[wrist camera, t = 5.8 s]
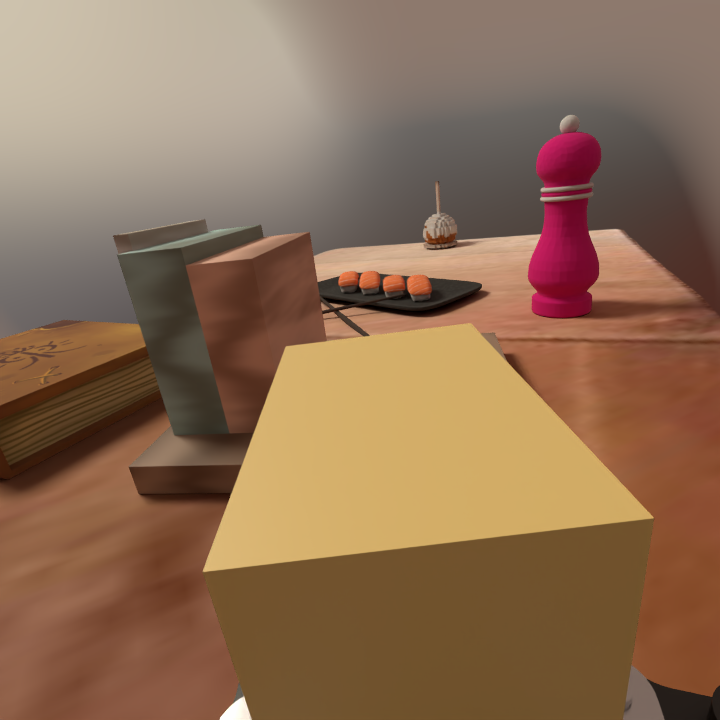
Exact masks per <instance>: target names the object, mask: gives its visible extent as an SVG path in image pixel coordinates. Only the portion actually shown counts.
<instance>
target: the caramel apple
mask: <svg viewBox="0 0 720 720" xmlns="http://www.w3.org/2000/svg"><path fill="white" fill-rule="evenodd" d="M436 199H437V214H434V215H432V217H429V220H426V223H425V228H424V231H423V237H424V238H425V242H427V243H425V244H424V247H425V248H431V249H443V248H448V247H451V246H453V245H456V244H457V241H456V240H454V239H455V235H456V234H457V225H456V224H455V220H453V219H452V217H450V216H448V215H446V214H445V213H440V194H439V181H436Z"/></svg>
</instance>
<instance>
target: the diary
mask: <svg viewBox="0 0 720 720" xmlns="http://www.w3.org/2000/svg"><path fill="white" fill-rule="evenodd" d="M160 398H162V395H161V392H160V389H159V386H158V383H157V379H156V376H155V373H154V370H153V367H152V364H151V360H150V357H149V354H148V351H147V348H146V345H145V342H144V338H143V335H142V332H141V329H140V326H139V324H124V323H106V322H89V321H70V320H62V321H59V322H56V323H52V324H49V325H46V326H42V327H39V328H35V329H32V330H29V331H25V332H22V333H19V334H15V335H12V336H9V337H6V338H2V339H0V478H4V479H10V478H12V477H14V476H16V475H18V474H20V473H22V472H23V471H25V470H27V469H29V468H31V467H33V466H35V465H36V464H38V463H40V462H42V461H44V460H46V459H48V458H50V457H51V456H53V455H55V454H57V453H59V452H61V451H63V450H65V449H66V448H68V447H70V446H72V445H74V444H76V443H78V442H79V441H81V440H83V439H85V438H87V437H89V436H91V435H93V434H94V433H96V432H98V431H100V430H102V429H104V428H106V427H108V426H109V425H111V424H113V423H115V422H117V421H119V420H121V419H123V418H124V417H126V416H128V415H130V414H132V413H134V412H136V411H137V410H139V409H141V408H143V407H145V406H147V405H149V404H151V403H152V402H154V401H156V400H158V399H160Z"/></svg>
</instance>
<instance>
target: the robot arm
mask: <svg viewBox="0 0 720 720" xmlns="http://www.w3.org/2000/svg"><path fill="white" fill-rule="evenodd" d="M220 720H252V719H251V716H250V713H249V710H248V707H247V704H246V701H245V698H244V695H243V692H242V689H241V686H240V683H239V685H238V689H237V693H236V697H235V699H234V702H233V704H232V705H231V706H230V707H229V708H228V709H227V710H226V712H225V713H224V714H223V715H222V717H221V718H220ZM623 720H720V686H719V687H717V688H716V690H715V691H714V693H713V697H709V696H704V695H700V694H695V693H690V692H686V691H681V690H676V689H672V688H668V687H664V686H661V685H659V684H656V683H654V682H652V681H650V680H648V679H646V678H645V677H644V676H643V675H642V674H641V673H640V672H639V671H638V670H637V669H636V668H634V667H633V666H632V665H631V671H630V677H629V683H628V690H627V696H626V703H625V709H624V716H623Z"/></svg>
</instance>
